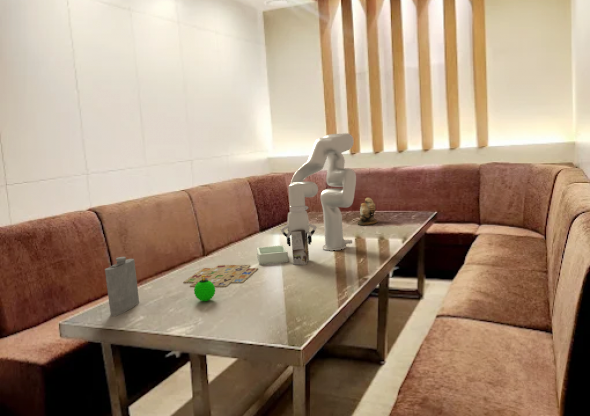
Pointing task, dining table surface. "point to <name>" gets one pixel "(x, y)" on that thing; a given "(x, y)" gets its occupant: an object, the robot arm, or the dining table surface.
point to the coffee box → (300, 247)
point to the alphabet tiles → (222, 275)
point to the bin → (272, 254)
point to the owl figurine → (367, 213)
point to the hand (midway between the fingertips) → (299, 244)
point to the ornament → (204, 289)
